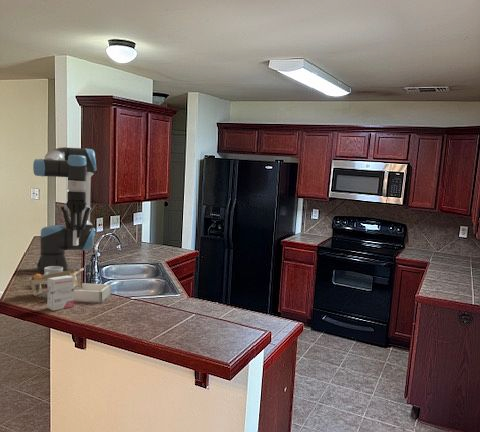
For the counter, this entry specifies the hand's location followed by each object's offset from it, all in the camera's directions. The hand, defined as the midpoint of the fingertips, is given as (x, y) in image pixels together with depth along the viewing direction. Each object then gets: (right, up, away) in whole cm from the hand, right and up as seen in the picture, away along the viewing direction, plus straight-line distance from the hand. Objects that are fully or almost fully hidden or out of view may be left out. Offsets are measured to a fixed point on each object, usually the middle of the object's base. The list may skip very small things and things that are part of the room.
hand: (75, 245), depth 195 cm
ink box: (+3, -23, -23) cm, 33 cm away
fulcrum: (-6, -21, -8) cm, 23 cm away
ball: (-13, -13, -9) cm, 20 cm away
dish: (+10, -21, -9) cm, 25 cm away
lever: (-5, -18, -4) cm, 19 cm away
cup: (-14, -19, +8) cm, 25 cm away
